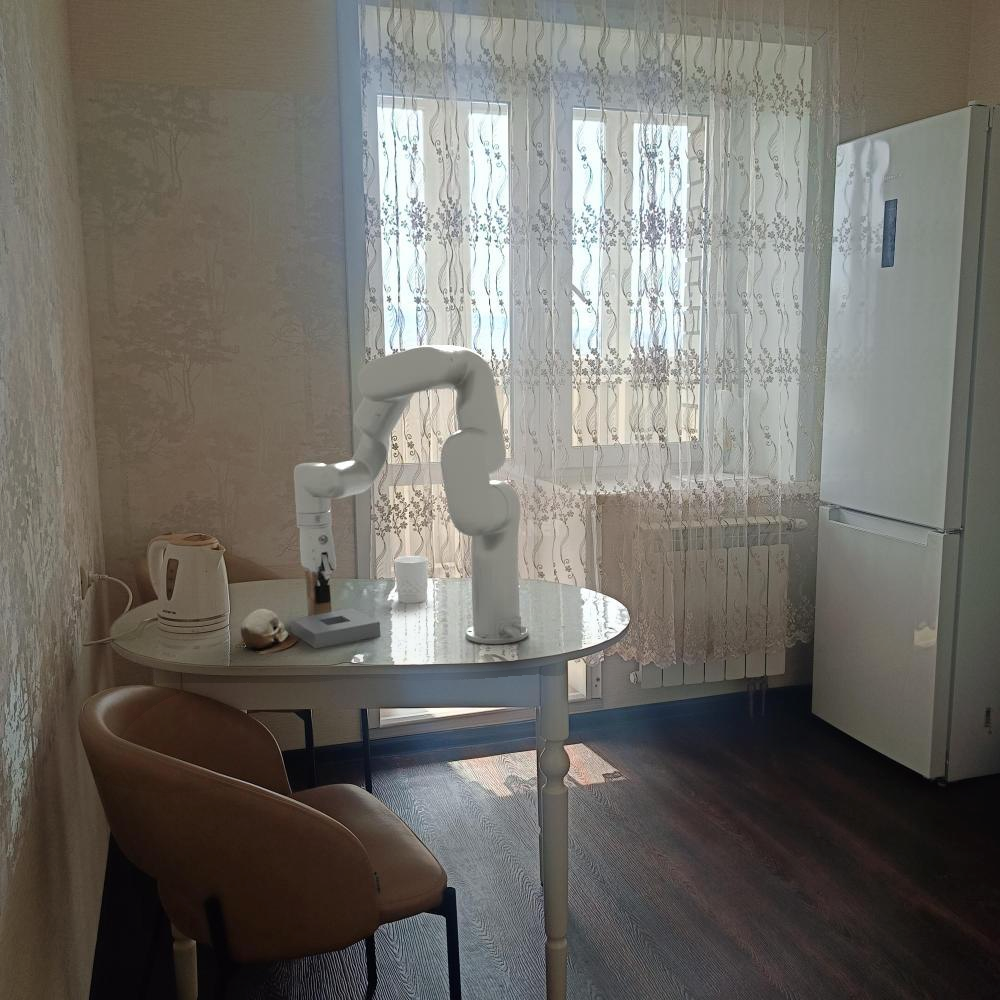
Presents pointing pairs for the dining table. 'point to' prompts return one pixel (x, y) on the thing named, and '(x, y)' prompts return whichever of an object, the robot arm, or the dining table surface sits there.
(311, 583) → the peg
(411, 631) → the dining table surface
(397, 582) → the white cup
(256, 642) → the skull
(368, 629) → the socket
